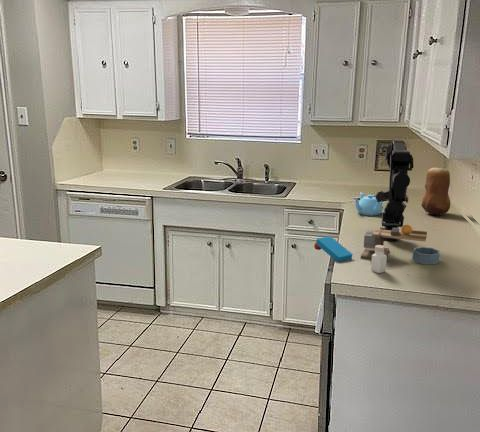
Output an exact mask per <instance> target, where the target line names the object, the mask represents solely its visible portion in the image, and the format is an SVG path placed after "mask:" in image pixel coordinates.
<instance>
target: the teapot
mask: <svg viewBox="0 0 480 432" xmlns="http://www.w3.org/2000/svg"><path fill="white" fill-rule="evenodd" d="M359 193H360V194H359V195H360V198H359V199H358V198H357V197H353V199H354V200H355V202H354V204H355V209H356V210H357V211H356V212H358V213H359V214H360V215H363V216H371V217H372V216H378V215H380V214H382V213H383V210H384V206H383V201H384V200H383V201H381V202H377V199H376V196H373V194H367V196H364V193H363V192H361V191H360V192H359Z"/></svg>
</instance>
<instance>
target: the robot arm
mask: <svg viewBox="0 0 480 432" xmlns="http://www.w3.org/2000/svg"><path fill="white" fill-rule="evenodd" d="M384 160H385V161H386V165H387V168H388V169H389V182H388V183H389V185H388V189H387V190H380V191H377V192H376V193H375V196H374V197H376V199H377V202H381V201H388V202H387V204H386V206H385V207H384V208H383V212H381V221H380V222H381V227H384V228H385V229H384V230H390V231H391V230H392V228H402V227H403V226H404V220H405V216H404V212H405V209H406V207H407V203H409V196H408V195H407V192H408V191H407V190H408V187H409V186H410V184H411V177H410V176H409V172H412V171H413V169H414V157H413V154H411V151H409V150H408V148H407V147H406V145H405V141H403V140H393V141H391V144H389V146H387V147H386V148H385V155H384ZM408 171H409V172H408ZM384 241H388V242H389V241H390V242H399V239H395V238H385V237H384Z"/></svg>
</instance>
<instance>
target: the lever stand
mask: <svg viewBox="0 0 480 432" xmlns="http://www.w3.org/2000/svg"><path fill="white" fill-rule="evenodd" d="M381 229H383V230H384V229H385V227H384V226H381V227H379V230H381ZM384 241H385V240H384V237H381V235H378V234H376V244H375V246H376V245H382V246H384V244H385V243H384ZM389 252H390V248H388V247H384V255H386V256H387V257H388V254H389ZM373 254H375V248H374V249H372V248H364V250H363V251H362V253H361V254H360V259H364V260H371V261H372V255H373Z"/></svg>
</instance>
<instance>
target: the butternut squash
mask: <svg viewBox="0 0 480 432" xmlns="http://www.w3.org/2000/svg"><path fill="white" fill-rule="evenodd" d="M450 174H451V173H450V171H449V169H448V168H447V169H446V168H441V167H440V168H439V167H431V168H429V169H428V170H427V173H426V176H425V177H426V179H425V183H424V189H425V192H424V195H423V198H422V203H421V208H423V210H424V212H426V213H427V214H431V215H433V216H441V215H444V214H446V213H448V212H449V210H450V208H451V198H450V196H449V189H450V184H451V176H450Z"/></svg>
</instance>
